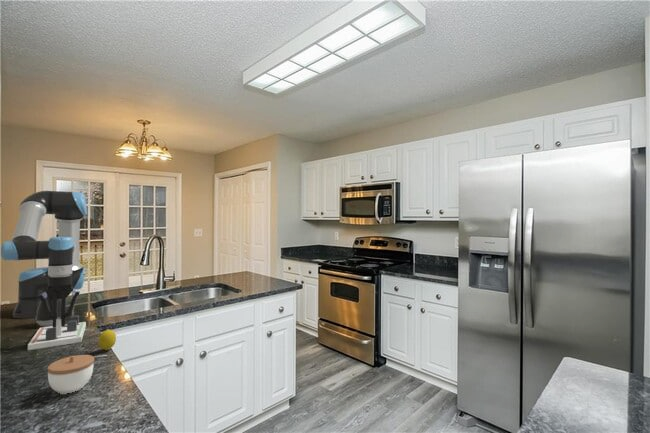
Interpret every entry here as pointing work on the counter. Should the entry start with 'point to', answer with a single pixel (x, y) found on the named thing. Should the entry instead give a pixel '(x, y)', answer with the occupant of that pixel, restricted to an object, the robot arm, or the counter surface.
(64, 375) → the lidded jar
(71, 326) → the block
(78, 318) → the block
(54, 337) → the switch
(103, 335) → the lemon
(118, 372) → the counter surface
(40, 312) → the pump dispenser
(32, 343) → the breaker panel
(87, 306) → the counter surface
